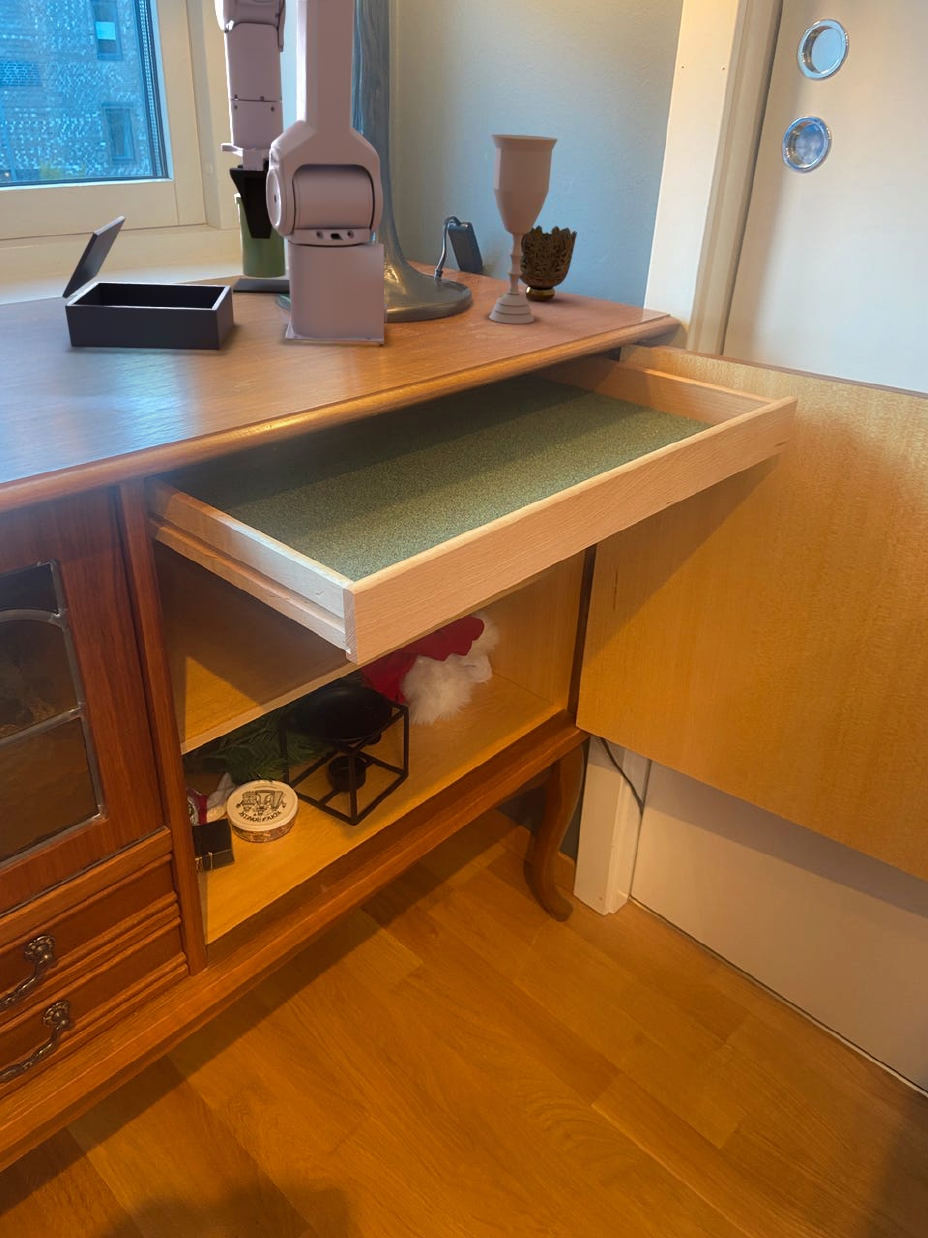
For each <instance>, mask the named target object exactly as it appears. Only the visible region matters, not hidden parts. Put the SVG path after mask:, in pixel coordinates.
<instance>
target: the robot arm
mask: <svg viewBox="0 0 928 1238" xmlns="http://www.w3.org/2000/svg"><path fill="white" fill-rule="evenodd" d="M355 3H356V2H355V0H296V119H295V121H294V122H293V124H291V125H290V126H289V127H288V128H287V129H286V130H284V111H283V110H284V109H283V91H282V90H283V88H282V67H281V66H282V64H281V53H283V52H284V46H285V25H286V17H287V15H286V13H287V1H286V0H214V6H215V13H216V18H217V22H218V25H219V27H220V29H221V30H222V31H224V32H223V37H224V51H225V52H224V53H225V65H226V79H227V94H228V107H229V122H230V123H229V124H230V133H231V134H230V135H231V136H230V137H231V143H221V144H220V151H221V152H226V153H227V152H230V153H231V154H234V155H235V156H238V157H241V158H242V163H241V164H240V163H239V164H238V165H237V166H236V167H229V169H228V170H229V172H228V173H229V176H230V178H231V180H232V182H233V184H234V186H235V187H236V190H237V192H238V194H239V195H240V198H241V201H242V204H243V208H244V212H245V216H246V220H247V225H248V229H249V232H250V235H251V238H257V239H270V236H271V231H272V226H273V227H274V229H275V230H276V231H277V232H278V234H279V235H281V236H282V237H284V240H287V241H286V242H287V258H288V280H289V285H290V294H289V303H290V304H289V306H290V319H289V322H288V325H287V329H286V332H285V335H284V339H285V340H288V341H319V342H320V341H322V342H323V341H324V342H325V341H326V342H358V343H359V342H364V343H378V345H383V344H385V324H387V323H388V304H387V303H385V245H384V244H383V243H379V242H371V235H373V234H374V233H375V232H376V230H377V229H378V227H379V226H380V223H381V221H382V217H383V210H384V193H383V186H382V182H381V181H382V180H381V160H380V156H379V154H378V152H377V150H376V149H375V147H374V146H373V144H371V143H370V141H368V140H367V139H366V138H365V137H364V136H363V135H361V133H359V132H358V131H357V129H355V128H354V127H353V125H352V104H353V103H352V99H353V71H354V70H353V66H354V34H355V32H354V31H355Z"/></svg>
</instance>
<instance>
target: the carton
mask: <svg viewBox="0 0 928 1238" xmlns="http://www.w3.org/2000/svg"><path fill="white" fill-rule="evenodd" d="M64 308H65V316H66V321H67V327H68V328H67V329H68V334H69V340H70V345H71V347H72V348H107V349H108V348H109V349H111V348H113V349H114V348H115V349H149V350H150V349H151V350H152V349H153V350H154V349H155V350H191V351H193V350H194V351H195V350H196V351H197V350H198V351H202V350H203V351H220V350H221V348H222V347H223V345H224V343H225V341H226V339H227V337H228V335H229V333H230V332H231V329H232V328H233V325H234V323H235V317H234V305H233V289H232V285H217V284H213V285H212V284H187V283H185V284H182V283H154V282H151V283H150V282H124V281H123V282H122V281H121V282H120V281H95V282H93V283H92V284H91V285H89V286H88V287H87V288H86V289H84V290H83V291H82V292H81V293H79V294H77V296H75V297H74V298H73V299H71V300H70V301H69V302H67V303H66V304H65V305H64Z"/></svg>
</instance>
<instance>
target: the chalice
mask: <svg viewBox="0 0 928 1238" xmlns="http://www.w3.org/2000/svg"><path fill="white" fill-rule="evenodd" d="M491 138H492V141H493V144H494V147H495V150H494V164H493V165H494V167H493V182H492V183H493V185H492V188H493V193H494V198H495V203H496V206H497V210H498V212H499V216H500V219H501V222H502V225H503V228H504V230H505V231H506V232H507V233H509V234H511V236H512V245H511V250H510V252H509V253H508V254H509V257H510V261H511V265H510V268H509V269H508V270H507V271H506V273H507V274H508V276H509V287H508V290H506V293H504V294H502V295H499V297H498V298H497V299H496V300H495V304H494V306H493V307H492V312H491V313H490V314H489V316H488V318H489V320H492V321H495V322H498V323H503V324H514V325H515V324H518V325H519V324H520V325H521V324H528V323H531V322H534V321H535V318H534V316H533V314H532V308H531V306H530V302H529V299H528V298H527V296H524V295H522V294H521V291H519V290H520V289H519V281H520V278H519V277H520V276H521V275H522V274H523V273H522V271H521V270H520V265H519V263H520V260H521V257H522V256H523V253H522V250H521V240H522V237H523V235H524V234H527V233H529V232H530V231H531V229H532V227H533V228H534V225H535V223H536V221H537V219H538V218H539V216H540V214H541V212H542V210H543V208H544V205H545V202H546V199H547V196H548V193H549V191H550V178H551V167H552V157H553V149H554V148H555V146H556V145H557V142H558V138H556V137H549V136H539V135H527V134H525V135H524V134H491Z"/></svg>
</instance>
